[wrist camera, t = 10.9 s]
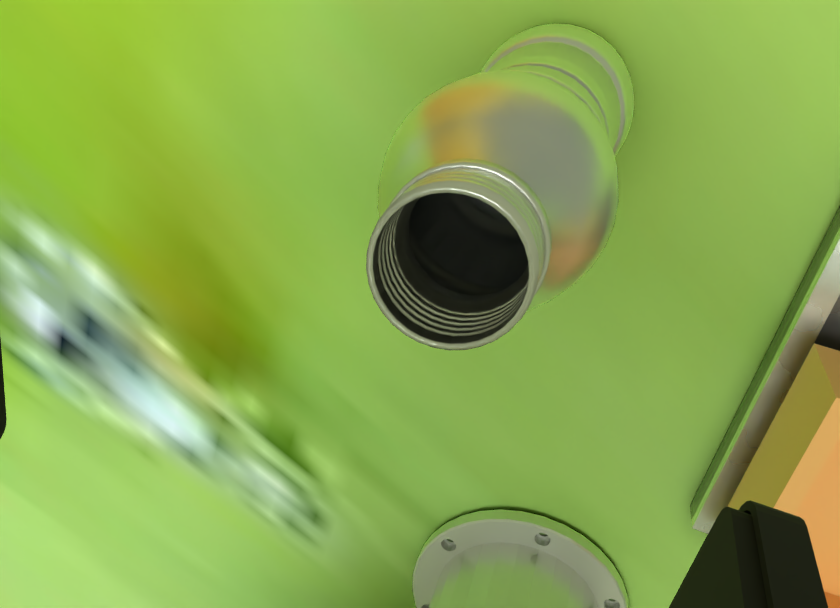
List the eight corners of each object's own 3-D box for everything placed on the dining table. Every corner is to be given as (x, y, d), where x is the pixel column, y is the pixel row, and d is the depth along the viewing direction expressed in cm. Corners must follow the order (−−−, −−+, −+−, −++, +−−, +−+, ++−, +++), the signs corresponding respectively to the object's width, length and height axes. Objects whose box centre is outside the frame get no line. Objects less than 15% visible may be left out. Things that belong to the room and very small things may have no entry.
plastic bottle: (669, 74, 31) (691, 233, 14) (571, 202, 35) (489, 462, 17) (540, -15, 31) (398, 32, 14) (454, 122, 35) (252, 300, 17)
